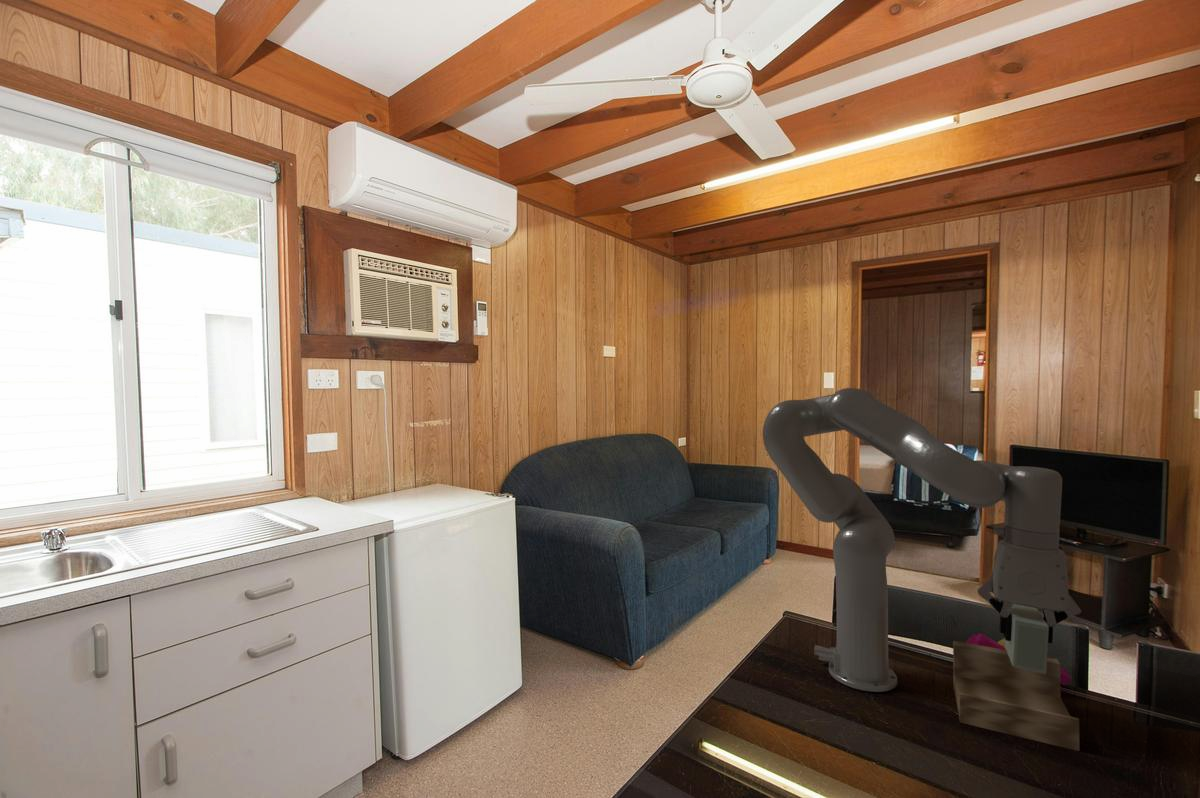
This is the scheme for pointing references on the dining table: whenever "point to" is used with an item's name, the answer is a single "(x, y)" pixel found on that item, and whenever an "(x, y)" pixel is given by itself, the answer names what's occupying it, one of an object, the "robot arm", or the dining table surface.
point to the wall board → (1011, 696)
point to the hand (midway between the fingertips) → (1024, 640)
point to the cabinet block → (1028, 639)
